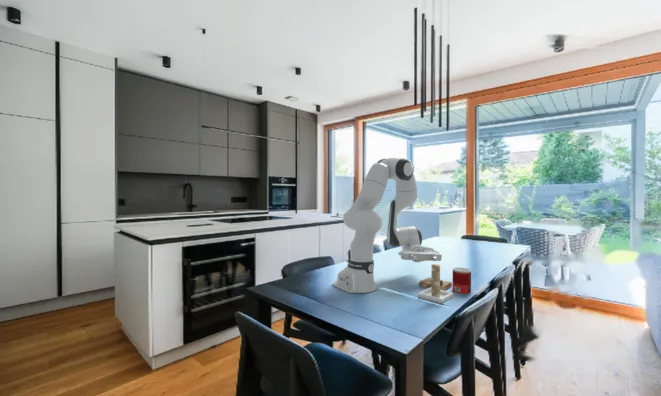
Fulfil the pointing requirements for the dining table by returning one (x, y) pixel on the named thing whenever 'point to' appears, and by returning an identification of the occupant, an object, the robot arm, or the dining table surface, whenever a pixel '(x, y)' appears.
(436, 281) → the dowel
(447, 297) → the tray
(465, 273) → the canned food
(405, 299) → the dining table surface
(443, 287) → the socket block
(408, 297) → the dining table surface
